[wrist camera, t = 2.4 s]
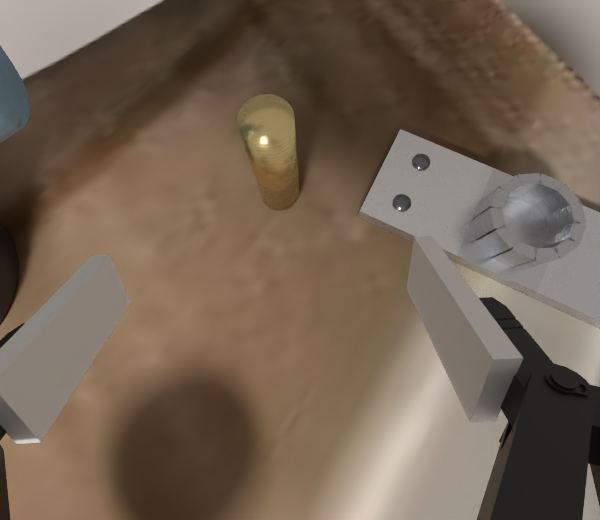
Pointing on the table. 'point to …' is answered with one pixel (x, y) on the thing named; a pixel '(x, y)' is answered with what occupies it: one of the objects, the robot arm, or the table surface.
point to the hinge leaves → (493, 222)
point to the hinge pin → (271, 148)
